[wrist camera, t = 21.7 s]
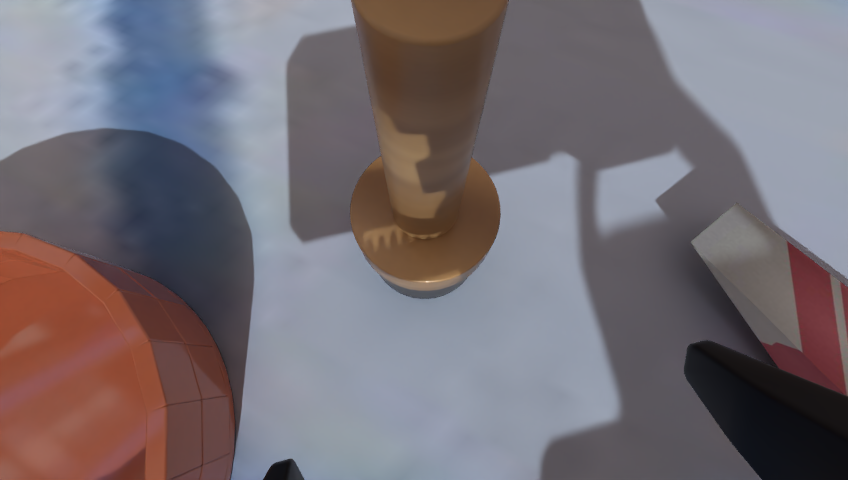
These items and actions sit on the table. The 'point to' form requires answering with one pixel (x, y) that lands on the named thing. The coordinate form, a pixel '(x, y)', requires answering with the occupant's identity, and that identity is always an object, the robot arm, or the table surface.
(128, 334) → the terracotta bowl
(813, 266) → the paintbrush
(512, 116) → the table surface
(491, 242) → the dish brush
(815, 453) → the robot arm
